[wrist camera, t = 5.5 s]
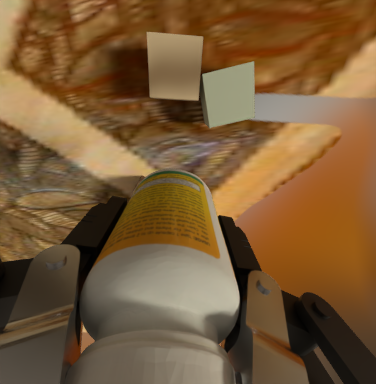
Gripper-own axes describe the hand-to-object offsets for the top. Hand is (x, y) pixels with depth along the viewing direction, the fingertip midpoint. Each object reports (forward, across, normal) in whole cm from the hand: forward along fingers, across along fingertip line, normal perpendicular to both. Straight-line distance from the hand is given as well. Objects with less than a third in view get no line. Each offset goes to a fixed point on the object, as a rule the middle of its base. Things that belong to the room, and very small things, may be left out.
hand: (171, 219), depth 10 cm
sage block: (+17, -4, -8) cm, 19 cm away
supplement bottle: (+2, 0, 0) cm, 2 cm away
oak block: (+17, +2, -9) cm, 19 cm away
